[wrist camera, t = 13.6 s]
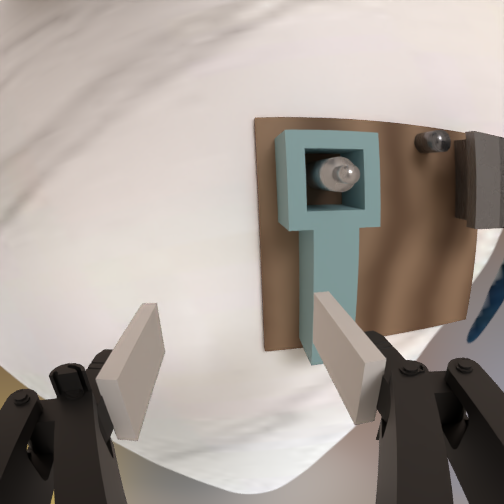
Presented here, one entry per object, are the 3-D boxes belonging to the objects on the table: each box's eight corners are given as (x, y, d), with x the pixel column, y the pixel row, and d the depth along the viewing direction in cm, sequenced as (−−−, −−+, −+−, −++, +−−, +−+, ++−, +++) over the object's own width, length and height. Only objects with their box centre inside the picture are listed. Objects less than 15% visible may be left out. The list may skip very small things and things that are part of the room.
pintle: (302, 189, 27) (333, 193, 19) (300, 161, 27) (332, 154, 18) (328, 188, 27) (369, 193, 19) (327, 161, 27) (368, 155, 18)
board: (264, 348, 30) (265, 351, 30) (254, 119, 26) (255, 117, 25) (462, 317, 32) (465, 319, 31) (473, 135, 27) (476, 135, 27)
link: (274, 138, 26) (284, 129, 21) (353, 139, 26) (378, 132, 21) (280, 339, 30) (290, 367, 25) (351, 331, 30) (370, 356, 25)
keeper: (415, 218, 28) (458, 229, 21) (413, 132, 26) (456, 124, 20) (473, 217, 28) (517, 227, 22) (473, 140, 27) (516, 137, 20)
